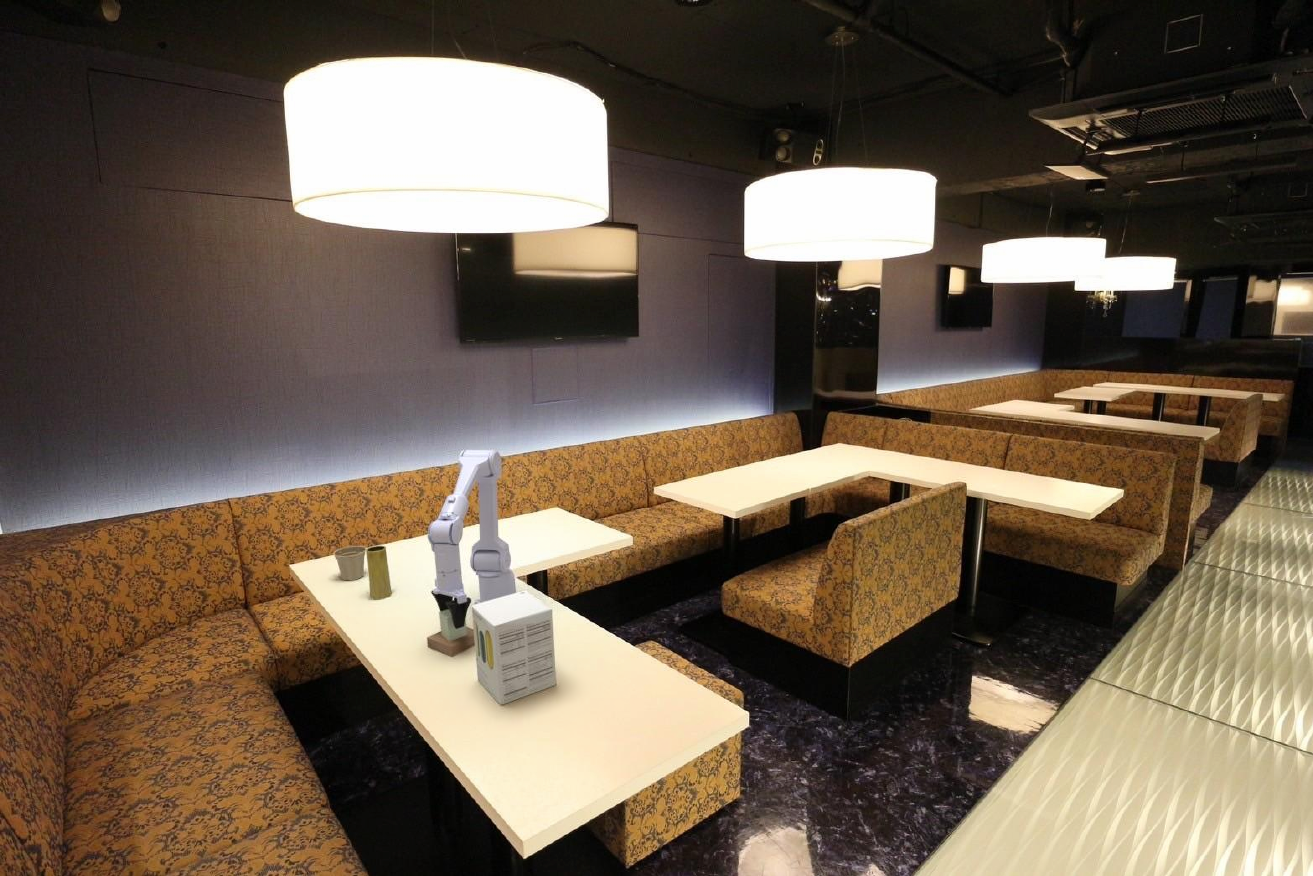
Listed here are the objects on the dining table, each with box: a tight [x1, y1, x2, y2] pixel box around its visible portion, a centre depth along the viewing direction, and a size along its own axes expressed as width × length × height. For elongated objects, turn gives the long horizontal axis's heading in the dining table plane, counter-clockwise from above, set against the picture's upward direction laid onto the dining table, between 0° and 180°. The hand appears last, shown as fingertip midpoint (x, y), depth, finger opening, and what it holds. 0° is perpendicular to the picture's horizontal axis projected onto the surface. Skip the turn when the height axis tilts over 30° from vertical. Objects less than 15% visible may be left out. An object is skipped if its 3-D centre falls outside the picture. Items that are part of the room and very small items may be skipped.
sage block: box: [438, 609, 467, 642], centre depth 161 cm, size 4×4×6 cm
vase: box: [365, 545, 393, 600], centre depth 193 cm, size 6×6×14 cm
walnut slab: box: [426, 626, 475, 658], centre depth 163 cm, size 9×9×3 cm
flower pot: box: [333, 545, 368, 582], centre depth 208 cm, size 9×9×9 cm
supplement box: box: [471, 590, 557, 706], centre depth 143 cm, size 13×13×18 cm
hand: (453, 622), depth 162 cm, fingers open, 7 cm apart
